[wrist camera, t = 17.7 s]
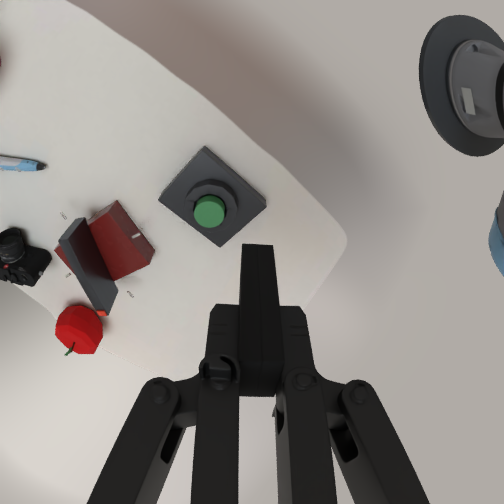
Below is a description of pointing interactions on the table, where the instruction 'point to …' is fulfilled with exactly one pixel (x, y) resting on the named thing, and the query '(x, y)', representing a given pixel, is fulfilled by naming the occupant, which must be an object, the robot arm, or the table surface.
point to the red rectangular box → (116, 242)
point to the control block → (217, 184)
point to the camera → (21, 259)
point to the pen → (19, 164)
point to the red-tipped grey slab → (89, 266)
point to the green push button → (209, 211)
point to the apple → (79, 330)
